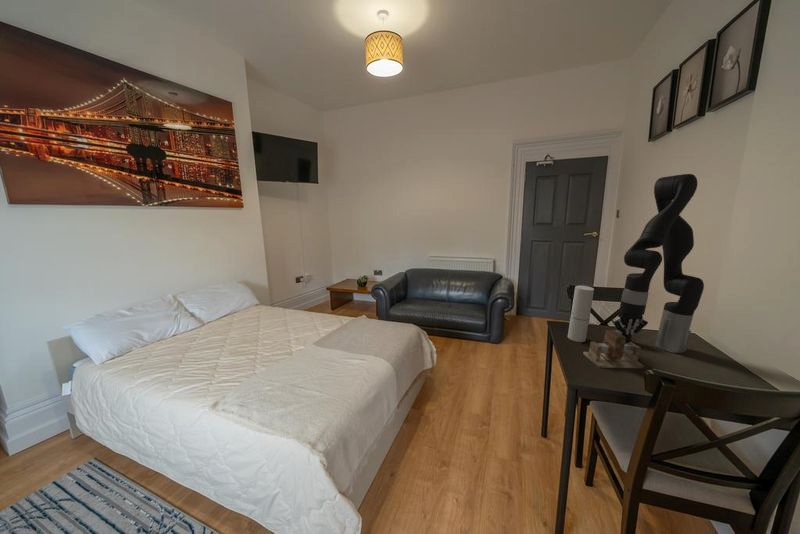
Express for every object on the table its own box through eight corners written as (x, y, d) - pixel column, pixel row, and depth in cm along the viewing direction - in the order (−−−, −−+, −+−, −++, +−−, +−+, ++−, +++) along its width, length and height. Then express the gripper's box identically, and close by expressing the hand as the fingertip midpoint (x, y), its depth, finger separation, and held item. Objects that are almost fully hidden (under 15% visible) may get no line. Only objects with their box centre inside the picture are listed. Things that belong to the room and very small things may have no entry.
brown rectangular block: (610, 351, 116) (614, 330, 114) (621, 359, 110) (626, 337, 108) (601, 351, 116) (605, 330, 114) (612, 359, 110) (616, 337, 108)
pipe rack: (623, 354, 118) (626, 338, 117) (643, 368, 108) (647, 351, 107) (583, 353, 118) (585, 338, 117) (599, 367, 109) (602, 350, 107)
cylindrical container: (580, 335, 135) (588, 285, 129) (588, 342, 128) (597, 290, 123) (564, 334, 136) (572, 285, 130) (572, 341, 129) (580, 289, 123)
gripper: (642, 297, 111) (634, 337, 115) (609, 297, 111) (601, 337, 115) (659, 304, 104) (650, 347, 108) (623, 304, 104) (615, 346, 108)
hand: (625, 341), depth 111 cm, fingers closed
